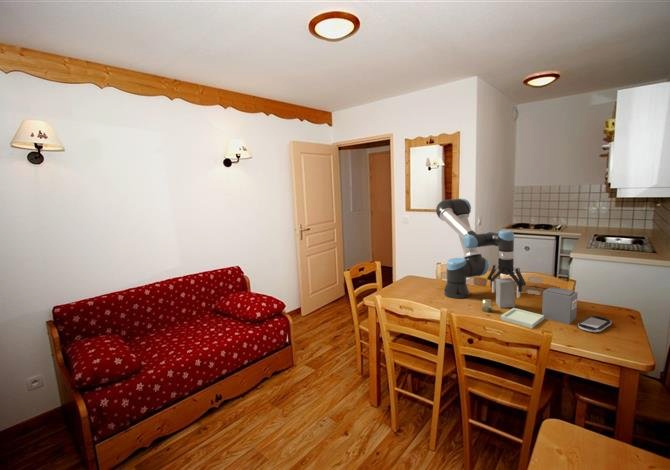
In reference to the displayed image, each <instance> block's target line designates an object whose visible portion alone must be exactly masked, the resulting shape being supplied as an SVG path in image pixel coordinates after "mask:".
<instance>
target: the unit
mask: <svg viewBox="0 0 670 470" xmlns="http://www.w3.org/2000/svg"><path fill="white" fill-rule="evenodd" d="M541 305H542V306H541V307H542V308H541V309H542V310H541V311H542V312H541V315H544V319H546V320H551V321H555V322H558V323H563V324H566V325H570V324H572V322H574V321H575V320H576V319H577V310H578V291H575V290H571V289H567V288H560V287H556V286H550V287H548V288H546V289H545V290H544V291H542V304H541Z"/></svg>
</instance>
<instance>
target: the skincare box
mask: <svg viewBox="0 0 670 470" xmlns="http://www.w3.org/2000/svg"><path fill="white" fill-rule="evenodd" d="M495 281H496V290H495V305H497V306H498V307H499V308H500V309H504V308H515V307H516V306H515V305H516V299H515V297H516V282H515V281H514V280H513V278H512V277H511V278H510V277H509V278H508V277H507V278H496V279H495Z"/></svg>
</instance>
